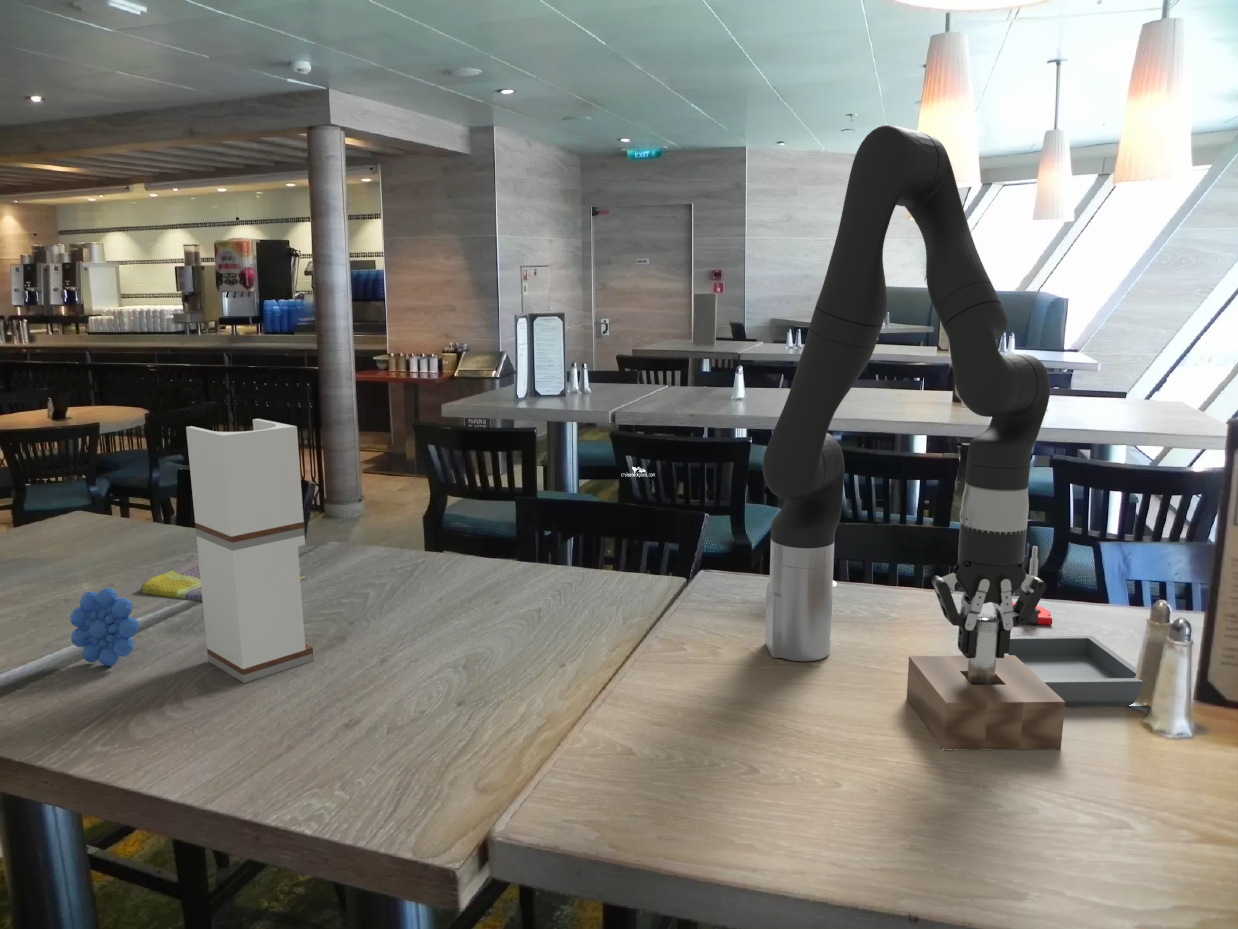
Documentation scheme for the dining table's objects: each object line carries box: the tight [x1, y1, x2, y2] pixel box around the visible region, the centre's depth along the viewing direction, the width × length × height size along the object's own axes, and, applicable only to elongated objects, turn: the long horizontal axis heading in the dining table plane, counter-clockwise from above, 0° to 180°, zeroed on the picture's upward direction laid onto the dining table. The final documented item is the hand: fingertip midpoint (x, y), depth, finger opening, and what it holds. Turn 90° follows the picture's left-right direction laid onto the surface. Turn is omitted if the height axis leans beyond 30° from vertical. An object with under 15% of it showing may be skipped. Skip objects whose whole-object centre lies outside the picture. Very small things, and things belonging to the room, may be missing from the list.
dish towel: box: [140, 558, 306, 602], centre depth 174 cm, size 18×24×3 cm
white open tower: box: [185, 418, 315, 684], centre depth 136 cm, size 11×11×35 cm
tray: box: [1004, 635, 1143, 708], centre depth 130 cm, size 16×16×4 cm
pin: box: [967, 613, 999, 685], centre depth 117 cm, size 3×3×12 cm
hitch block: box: [906, 655, 1066, 751], centre depth 118 cm, size 14×14×6 cm
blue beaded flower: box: [69, 587, 140, 667], centre depth 138 cm, size 12×7×12 cm, turn 75°
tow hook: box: [1012, 545, 1053, 626], centre depth 155 cm, size 8×13×9 cm
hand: (982, 655), depth 117 cm, fingers closed on pin, 3 cm apart
